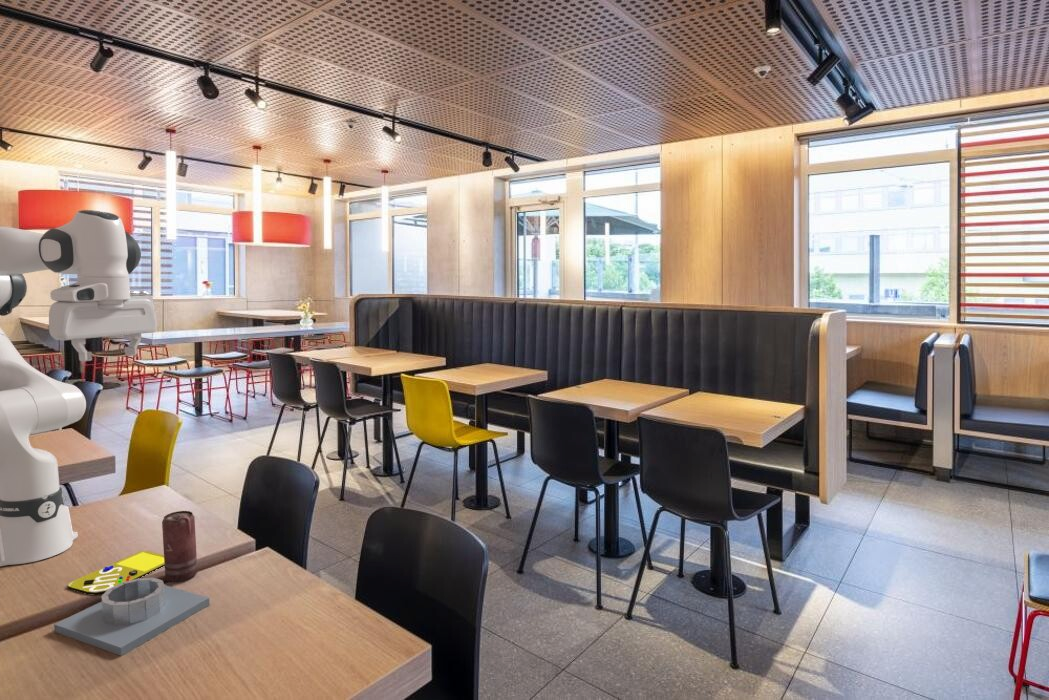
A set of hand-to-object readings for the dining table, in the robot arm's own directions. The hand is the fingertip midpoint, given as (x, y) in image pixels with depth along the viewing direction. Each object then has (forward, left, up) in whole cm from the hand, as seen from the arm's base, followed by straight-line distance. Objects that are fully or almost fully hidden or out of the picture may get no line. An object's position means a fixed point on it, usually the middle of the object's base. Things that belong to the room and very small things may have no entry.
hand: (109, 358), depth 128 cm
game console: (-2, +1, -49) cm, 49 cm away
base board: (+17, -10, -48) cm, 52 cm away
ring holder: (+17, -10, -47) cm, 51 cm away
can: (+11, +5, -48) cm, 50 cm away
